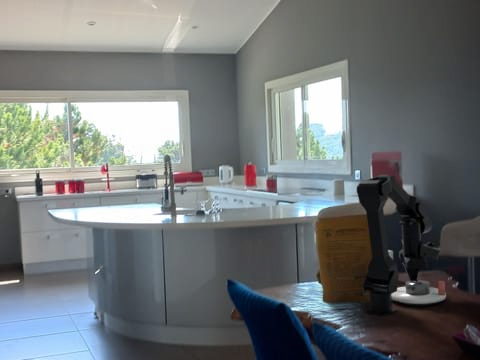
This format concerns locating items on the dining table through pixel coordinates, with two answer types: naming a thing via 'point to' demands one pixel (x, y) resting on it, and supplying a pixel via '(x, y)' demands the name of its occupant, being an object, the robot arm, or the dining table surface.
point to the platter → (433, 297)
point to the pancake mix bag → (343, 257)
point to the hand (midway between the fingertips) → (413, 284)
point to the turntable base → (418, 304)
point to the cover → (417, 287)
